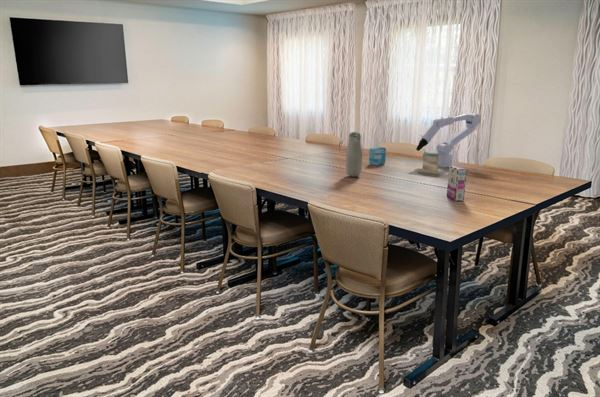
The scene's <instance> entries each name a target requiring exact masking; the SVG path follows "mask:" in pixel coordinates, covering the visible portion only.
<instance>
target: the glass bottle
mask: <svg viewBox="0 0 600 397" xmlns="http://www.w3.org/2000/svg"><path fill="white" fill-rule="evenodd" d="M361 139H362V135H361V133H360V132H358V131H353V132H350V133H349V135H348V142H347V147H346V152H345V172H346V174H347V176H348V177H352V178H355V177H356V178H357V177H359V176H360V175H361V173H362V169H363V154H364V152H363V147H362V142H361Z"/></svg>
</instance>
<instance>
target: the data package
mask: <svg viewBox="0 0 600 397" xmlns="http://www.w3.org/2000/svg"><path fill="white" fill-rule="evenodd" d="M386 151H387V149H386V147H382V146H378V147H377V146H376V147H371V148H369V153H368V154H369V156H368V165H370V166H381V165H385V163H386V155H387V154H386V153H387V152H386Z"/></svg>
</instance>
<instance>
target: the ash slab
mask: <svg viewBox="0 0 600 397" xmlns="http://www.w3.org/2000/svg"><path fill="white" fill-rule="evenodd" d="M438 162H439V154H438V152H436V153H434V152H423V153H422V168H421V169H430V170H439V167H438Z"/></svg>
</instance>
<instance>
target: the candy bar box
mask: <svg viewBox="0 0 600 397" xmlns="http://www.w3.org/2000/svg"><path fill="white" fill-rule="evenodd" d="M447 178H448V179H447V188H446V190H447V191H446V198H447V197H448V199H451V200H452V201H454V202H464V200H465V193H466V192H465V191H466V181H467V169H466V168H464V167H462V166H459V165H452V166H449V167H448V176H447Z"/></svg>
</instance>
